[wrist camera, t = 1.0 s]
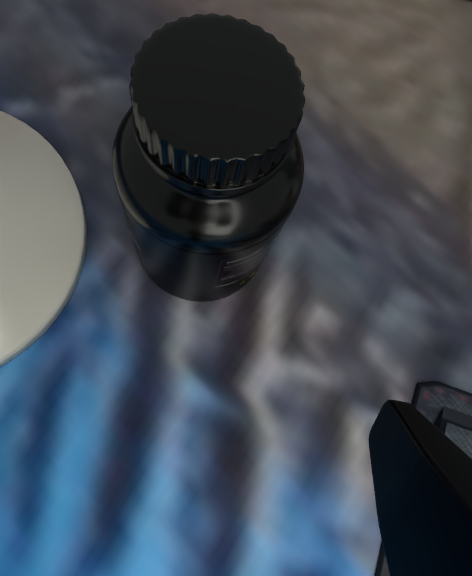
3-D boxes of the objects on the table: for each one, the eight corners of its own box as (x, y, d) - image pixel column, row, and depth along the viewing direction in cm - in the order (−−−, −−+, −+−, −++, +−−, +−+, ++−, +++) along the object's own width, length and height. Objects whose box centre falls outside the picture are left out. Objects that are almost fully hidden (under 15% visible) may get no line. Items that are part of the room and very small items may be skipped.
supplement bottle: (109, 244, 22) (26, 67, 10) (198, 166, 24) (212, -57, 12) (203, 333, 21) (226, 248, 10) (287, 245, 23) (390, 87, 12)
